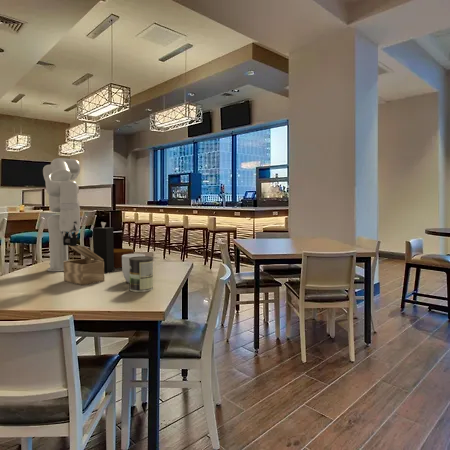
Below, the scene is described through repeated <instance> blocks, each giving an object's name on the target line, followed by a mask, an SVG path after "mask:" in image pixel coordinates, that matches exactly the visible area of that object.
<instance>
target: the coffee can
mask: <svg viewBox="0 0 450 450" xmlns="http://www.w3.org/2000/svg"><path fill="white" fill-rule="evenodd" d="M153 260H154V257H153V256H146V255H145V256H138V257H131V258H129V265H130V283H129V291H130V292H134V293H144V292H145V293H146V292H149V291H153V290H154V284H153V283H154V282H153V281H154V278H153V277H154V272H153V269H154V267H153V265H154V264H153V262H154V261H153Z"/></svg>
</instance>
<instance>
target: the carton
mask: <svg viewBox="0 0 450 450" xmlns="http://www.w3.org/2000/svg"><path fill="white" fill-rule="evenodd" d="M63 281H64V282H67V283H70V284H74V285H79V286H86V285H87V286H88V285H91V284H96V283H101V282H102V283H103V282H105V273H104V261H98V260H94V259H89V258H80V259H72V260H68V261H64V271H63Z"/></svg>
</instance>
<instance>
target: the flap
mask: <svg viewBox="0 0 450 450" xmlns="http://www.w3.org/2000/svg"><path fill="white" fill-rule="evenodd" d="M65 242H66V243H70V239H65ZM69 247H70V248H71V249H72V250H74V251H75V252H76V253H78V254H79V255H81V256H82V257H83V258H84V259H92V260H94V259H96V260H102V261H103V260H104V259H102V258H101V257H99V256H98V255H97V254H95V253H94V251H93V250H91V249H89V248H88V247H87V246H82V245H78V244H77V246H70V245H68V248H69Z"/></svg>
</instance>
